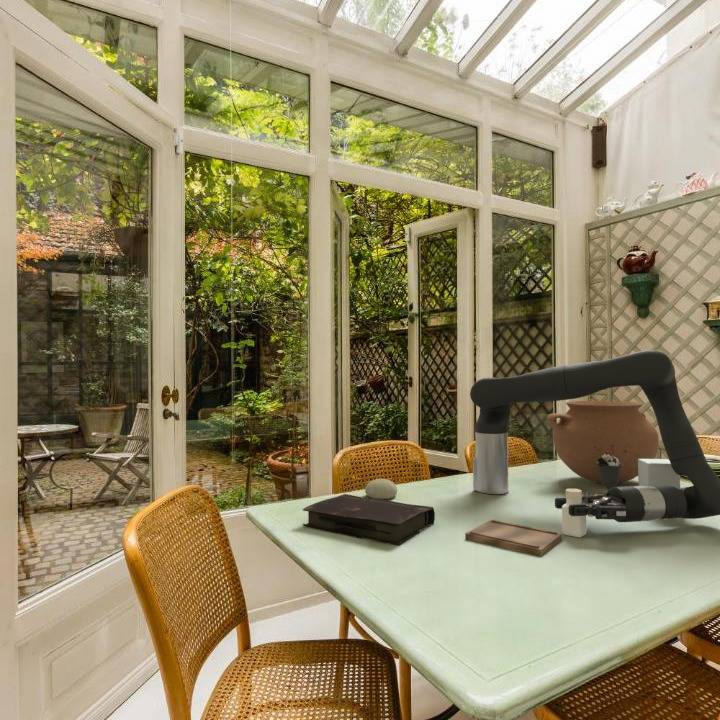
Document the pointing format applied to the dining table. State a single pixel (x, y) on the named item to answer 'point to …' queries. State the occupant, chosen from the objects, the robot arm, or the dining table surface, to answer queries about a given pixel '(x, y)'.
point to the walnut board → (515, 537)
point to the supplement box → (657, 473)
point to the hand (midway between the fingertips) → (562, 506)
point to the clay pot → (603, 437)
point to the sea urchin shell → (381, 489)
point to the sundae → (609, 469)
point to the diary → (369, 518)
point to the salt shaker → (573, 523)
